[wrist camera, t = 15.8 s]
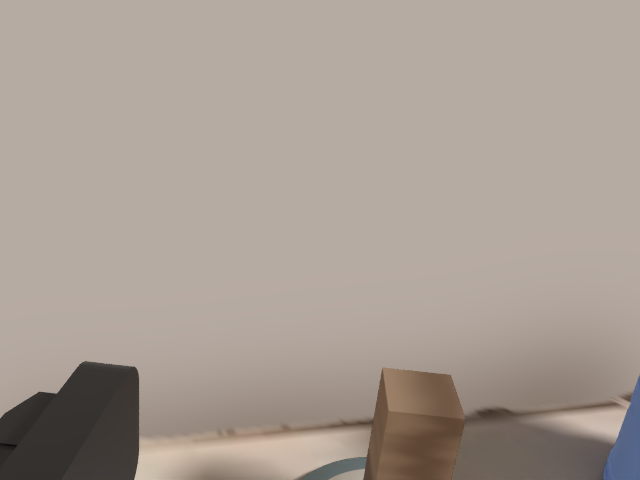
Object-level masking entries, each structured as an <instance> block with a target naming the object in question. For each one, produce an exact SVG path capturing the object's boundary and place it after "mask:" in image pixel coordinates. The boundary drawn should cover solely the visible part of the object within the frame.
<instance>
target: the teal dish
mask: <svg viewBox="0 0 640 480" xmlns="http://www.w3.org/2000/svg"><path fill="white" fill-rule="evenodd" d="M366 460H367V457H359V458H351V459H344V460H340V461H336V462H333V463H330V464H327V465H324V466H322V467H320V468H318V469H316V470H314V471H313V472H311V473H310V474H308V475H307V476H305V477H304V478H303V479H302V480H363V478H364V472H365V466H366Z"/></svg>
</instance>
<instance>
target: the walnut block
mask: <svg viewBox="0 0 640 480" xmlns="http://www.w3.org/2000/svg"><path fill="white" fill-rule="evenodd" d="M464 423H465V416H464V413H463V410H462V407H461V405H460V401H459V398H458V396H457V392H456V389H455V386H454V383H453V380H452V378H451V375H446V374H436V373H427V372H418V371H409V370H399V369H390V368H382V374H381V379H380V385H379V391H378V397H377V403H376V408H375V414H374V420H373V426H372V431H371V437H370V443H369V449H368V454H367V460H366V466H365V472H364V478H363V480H451V477H452V473H453V469H454V465H455V460H456V456H457V452H458V448H459V444H460V440H461V436H462V431H463V427H464Z"/></svg>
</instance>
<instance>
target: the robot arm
mask: <svg viewBox="0 0 640 480" xmlns="http://www.w3.org/2000/svg"><path fill="white" fill-rule="evenodd" d="M138 456H139V375H138V371H137V369H136V368H135V367H129V366H122V365H112V364H103V363H95V362H86V361H85V362H82V363H81V364H80V365H79V366H78V367H77V369H76V370H75V371H74V372H73V374H72V375H71V376H70V378H69V379H68V380H67V382H66V383H65V384H64V385H63V387H62V388H61V390H60V391H59V392H58V393H57V394H53V393H45V392H38V393H37V394H35V395H34V396H32V397H30V398H29V399H27V400H25V401H24V402H22V403H21V404H19V405H17V406H16V407H14V408H13V409H11V410H10V411H8V412H6V413H5V414H4V415H3V416H2V417H1V418H0V480H134V478H135V474H136V469H137V464H138Z"/></svg>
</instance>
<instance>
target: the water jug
mask: <svg viewBox="0 0 640 480" xmlns="http://www.w3.org/2000/svg"><path fill="white" fill-rule="evenodd" d="M603 480H640V376H639V378H638V381H637V384H636V386H635V389H634V392H633V395H632V398H631V404H630V406H629V408H628V410H627V413H626V415H625V418H624V421H623V424H622V427H621V429H620V432H619V435H618V438H617V440H616V443H615V445H614V447H613V448H612V450H611V451H610V454H609V457H608V459H607V462H606V465H605V468H604V475H603Z"/></svg>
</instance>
